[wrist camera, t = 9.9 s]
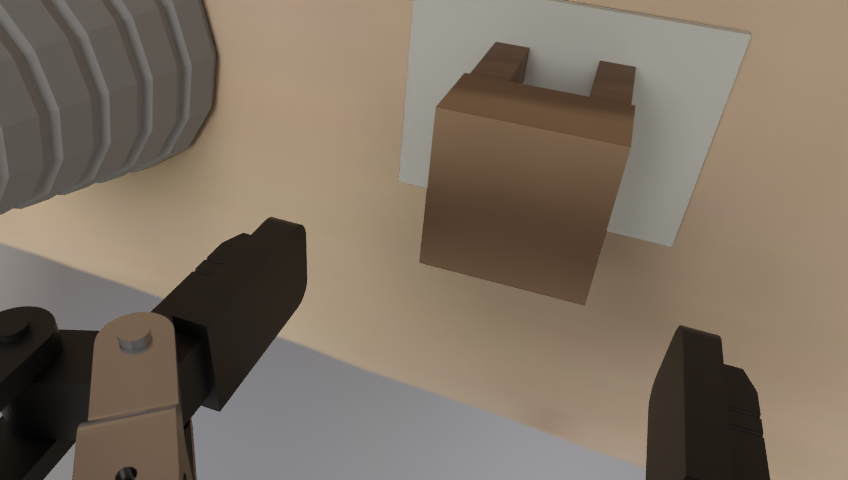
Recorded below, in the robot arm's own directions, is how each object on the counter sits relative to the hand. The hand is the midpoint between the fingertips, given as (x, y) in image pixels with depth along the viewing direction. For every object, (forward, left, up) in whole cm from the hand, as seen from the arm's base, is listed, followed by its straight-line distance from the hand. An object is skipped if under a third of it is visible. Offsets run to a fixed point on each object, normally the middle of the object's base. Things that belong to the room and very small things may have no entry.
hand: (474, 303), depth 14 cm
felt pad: (0, 0, -12) cm, 12 cm away
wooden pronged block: (0, 0, -12) cm, 12 cm away
